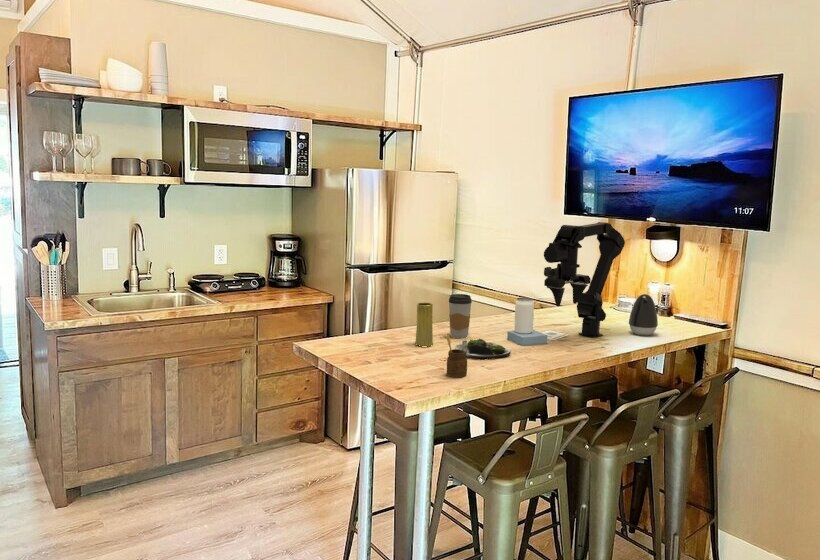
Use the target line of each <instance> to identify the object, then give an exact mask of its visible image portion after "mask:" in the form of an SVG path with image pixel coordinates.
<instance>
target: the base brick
mask: <svg viewBox="0 0 820 560" xmlns="http://www.w3.org/2000/svg"><path fill="white" fill-rule="evenodd" d="M506 340H508V341H510V342H513V343H514V344H517V345H519V346H521V347H528V345H529V346H537V345H538V344H539V345H548V339H547V335H545V334H543V333H542V332H540V331H537V330H536V329H535V330H534V329H533V332H532V333H530V334H520V333H516V332H515V331H514V330H507V338H506Z"/></svg>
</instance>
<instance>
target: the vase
mask: <svg viewBox="0 0 820 560" xmlns="http://www.w3.org/2000/svg"><path fill="white" fill-rule="evenodd" d="M433 335H434V333H433V303H431V302H417V304H416V331H415V343H414V344H417V345H420V346H429V347H432V346H433V345H434V341H433V337H434V336H433ZM417 345H416V346H417ZM431 345H432V346H431ZM420 346H419V347H420Z"/></svg>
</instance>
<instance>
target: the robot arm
mask: <svg viewBox="0 0 820 560" xmlns="http://www.w3.org/2000/svg"><path fill="white" fill-rule="evenodd" d="M591 236H596V240H597V241H598V243H599V245H598V250H599V254H600V255H599V259H598V261H597V264H596V267H595V269H594V273H593V275H592V278H591V277H590V276H589V275H586V274H580V273H578V270H577V269H578V268H580V267H581V266H580V264H578V258H579V257H578V256H579V255H578V254H579V249H581V248H582V247H583V246H582V245H581V243H580V242H581V241H583V240H584V239H585V238H588V237H591ZM625 245H626V241H625V238H624V237H623V235H622V233H621V232H619V231H618V230H617V229H615V228H614V227H613V225H612V224H611V223H609V222H603V221H598V222H596V223H595V222H594V223H590V224H584V225H570V224H563V225H561V226H560V228H559V230H558V232H557V233H556V235H555V237H554V239H553V242H549V243H548V246H547V247H546V248H545V249H544V251H543V258H544V260H545V261H546V262H547V263H548V264H554V263H557V264H556V267H555V268H553V267H551V266H547V267H544V268H543V276H544V277H546V278H545V279H544V283H543V284H544V285H543V286H544V287H546V289H549V290H550V291H551V293H552V296H553V299H554V302H555V305H556V307H560V306H561V304H562V300H563V297H564V294H565V290H566V288H565V287H564V286H565V285H566V284H567V285H568V284H569V285H570V287H571V288H572V303H573V304H574V305H575V304H576V310H577V311H576V312H577V316H578V318H581V319H582V323H581V332H578V335H580V336H584V337H587V338H596V337H601V336H603V335H604V334H603V333H601V332H600V330H601V329H600V328H601V327H600V325H601V322H603V321H605V320H606V317H607V314H606V312H605V310H604V309H603V304H604V303H603V302H604V301H603V298H602V293H603V291H604V288H605V285H606V282H607V278H608V276H609V274H610V270H611V267H612V266H613V262H614V260H615V259H616V258H617V257H618V256H620V254H622V251H623V249H624V247H625ZM577 273H578V274H577ZM587 287H588V288H587ZM586 288H587V290H586ZM585 290H586V291H585ZM584 291H585V292H584Z"/></svg>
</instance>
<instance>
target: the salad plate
mask: <svg viewBox="0 0 820 560" xmlns="http://www.w3.org/2000/svg"><path fill="white" fill-rule="evenodd" d="M467 342H468V344H467ZM464 343H465V344H466V345H465V344H464ZM459 345H460V346H459ZM463 347H464V348H465V349H464V348H463ZM461 348H462V349H461ZM454 349H460V350H464V351H466V358H467V359H470V358H471V359H472V360H477V359H480V361H481V360H484V361H486V360H485V359H488V360H497V359H504V358H507V357H508V356H510V355H511V349H509V348H508V347H504V346H503V345H500V344H498V343H496V342H489V341H487V342H486V341H485V340H484V339H482V338H477V339H474V338H471V339H470V340H466V341H465V340H461V343H460V344H457V345H455V346H454ZM471 359H470V360H471Z"/></svg>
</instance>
